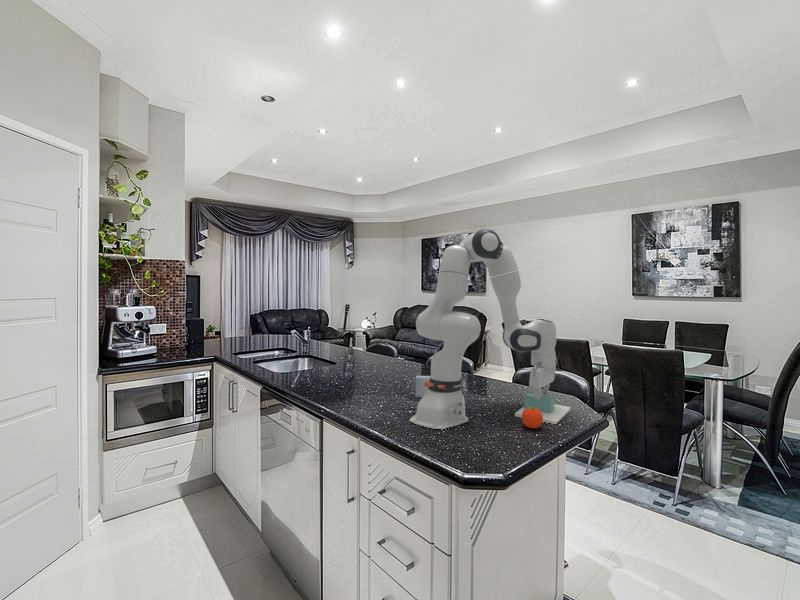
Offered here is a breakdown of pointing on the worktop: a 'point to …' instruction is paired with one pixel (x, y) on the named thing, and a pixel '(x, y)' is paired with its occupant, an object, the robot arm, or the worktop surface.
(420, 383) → the medicine box
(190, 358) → the worktop surface
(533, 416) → the clementine
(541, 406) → the teal block
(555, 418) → the white cutting board
